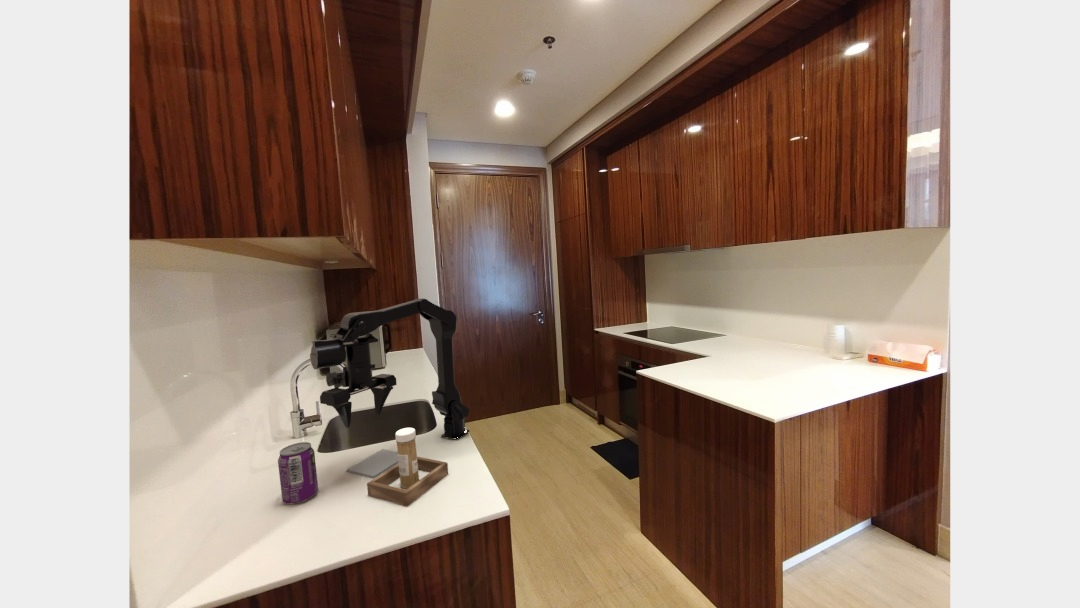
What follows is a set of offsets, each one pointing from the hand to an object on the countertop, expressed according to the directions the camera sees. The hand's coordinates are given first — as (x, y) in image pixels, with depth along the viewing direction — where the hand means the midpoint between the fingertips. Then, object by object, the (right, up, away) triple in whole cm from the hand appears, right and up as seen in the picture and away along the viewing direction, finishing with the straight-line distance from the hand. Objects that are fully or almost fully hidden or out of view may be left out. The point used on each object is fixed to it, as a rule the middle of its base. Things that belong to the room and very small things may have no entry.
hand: (363, 420), depth 97 cm
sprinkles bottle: (+15, -14, -7) cm, 21 cm away
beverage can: (-10, -15, -10) cm, 20 cm away
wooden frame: (+14, -13, -7) cm, 21 cm away
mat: (+2, -13, +4) cm, 14 cm away
